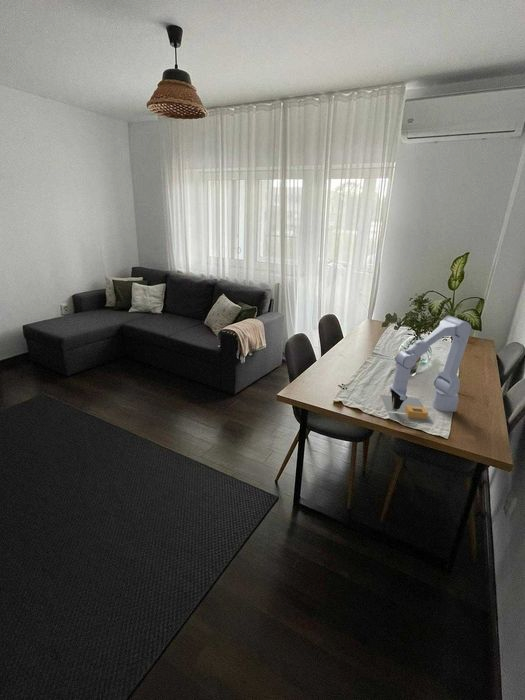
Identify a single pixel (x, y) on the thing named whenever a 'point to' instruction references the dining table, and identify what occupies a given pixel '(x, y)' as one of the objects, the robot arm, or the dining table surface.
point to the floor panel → (403, 409)
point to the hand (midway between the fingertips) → (395, 406)
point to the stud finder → (416, 412)
